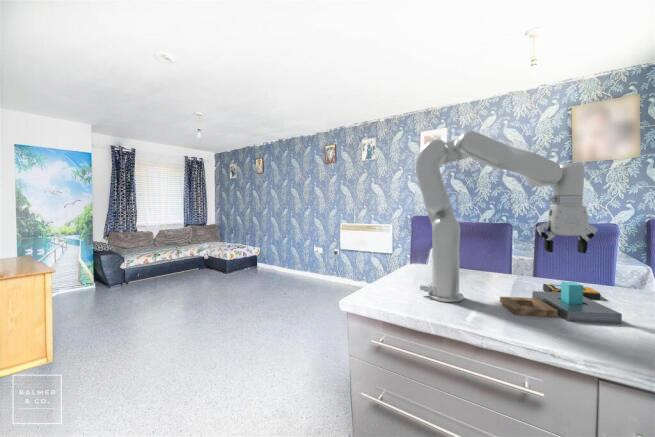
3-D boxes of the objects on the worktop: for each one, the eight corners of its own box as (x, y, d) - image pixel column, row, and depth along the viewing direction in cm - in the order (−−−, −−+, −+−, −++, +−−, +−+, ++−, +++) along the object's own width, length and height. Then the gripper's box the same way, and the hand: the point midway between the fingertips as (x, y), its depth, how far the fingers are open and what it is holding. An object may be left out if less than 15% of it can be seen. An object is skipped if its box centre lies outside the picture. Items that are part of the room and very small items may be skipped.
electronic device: (601, 302, 103) (602, 292, 103) (549, 296, 109) (549, 288, 109) (591, 294, 111) (591, 286, 111) (542, 290, 117) (542, 282, 117)
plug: (568, 312, 93) (569, 284, 92) (560, 307, 97) (561, 281, 96) (582, 312, 92) (583, 285, 92) (574, 308, 96) (574, 282, 96)
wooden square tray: (515, 314, 91) (515, 308, 91) (499, 302, 103) (499, 296, 103) (557, 316, 89) (557, 310, 89) (536, 303, 101) (536, 298, 101)
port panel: (567, 321, 86) (567, 311, 86) (532, 299, 105) (532, 291, 105) (621, 323, 83) (621, 313, 83) (575, 300, 103) (575, 292, 103)
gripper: (544, 201, 92) (542, 253, 93) (606, 201, 89) (603, 255, 90) (532, 201, 100) (530, 249, 101) (589, 201, 96) (587, 251, 97)
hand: (565, 252), depth 95 cm, fingers open, 9 cm apart
